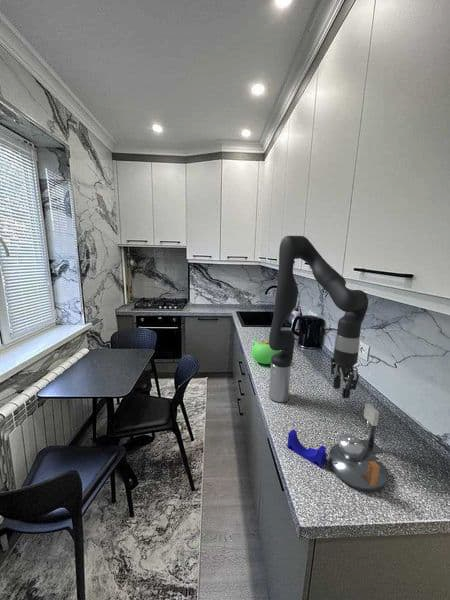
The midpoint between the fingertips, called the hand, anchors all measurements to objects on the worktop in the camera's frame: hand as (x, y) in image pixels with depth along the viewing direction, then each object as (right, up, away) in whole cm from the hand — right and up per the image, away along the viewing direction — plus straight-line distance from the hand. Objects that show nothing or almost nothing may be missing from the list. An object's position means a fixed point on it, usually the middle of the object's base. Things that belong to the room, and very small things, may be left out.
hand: (340, 392), depth 88 cm
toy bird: (-16, -7, +69) cm, 71 cm away
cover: (0, -18, -6) cm, 19 cm away
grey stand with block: (+11, -20, 0) cm, 23 cm away
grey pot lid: (0, -20, -9) cm, 22 cm away
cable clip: (-13, -20, -3) cm, 25 cm away
